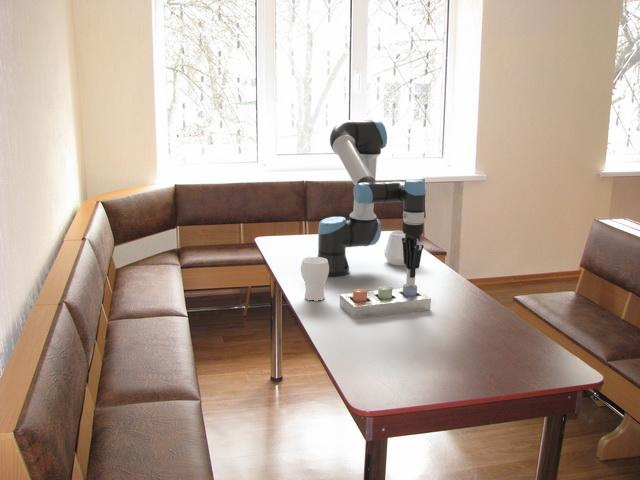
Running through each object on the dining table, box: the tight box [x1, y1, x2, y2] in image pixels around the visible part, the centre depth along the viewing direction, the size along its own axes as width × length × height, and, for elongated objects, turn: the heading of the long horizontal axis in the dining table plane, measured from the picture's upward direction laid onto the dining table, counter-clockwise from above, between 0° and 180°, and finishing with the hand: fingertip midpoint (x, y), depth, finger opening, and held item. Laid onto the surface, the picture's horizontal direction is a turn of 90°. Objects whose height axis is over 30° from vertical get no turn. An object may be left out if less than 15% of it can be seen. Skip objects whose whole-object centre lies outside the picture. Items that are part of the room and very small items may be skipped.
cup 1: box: [300, 256, 329, 302], centre depth 251 cm, size 11×11×15 cm
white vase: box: [383, 230, 406, 266], centre depth 300 cm, size 13×13×14 cm
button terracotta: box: [352, 288, 368, 303], centre depth 239 cm, size 5×5×5 cm
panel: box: [339, 287, 432, 320], centre depth 243 cm, size 14×30×4 cm, turn 109°
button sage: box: [377, 285, 394, 300], centre depth 242 cm, size 5×5×5 cm
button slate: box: [402, 283, 418, 297], centre depth 246 cm, size 5×5×5 cm
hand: (410, 285), depth 245 cm, fingers closed
